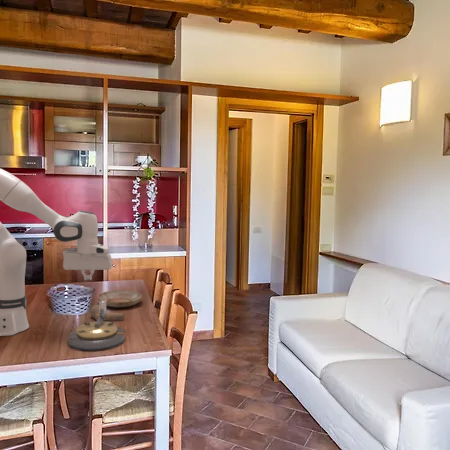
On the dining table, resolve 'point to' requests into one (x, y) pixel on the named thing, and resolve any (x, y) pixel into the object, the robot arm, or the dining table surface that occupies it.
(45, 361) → the dining table surface
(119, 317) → the pipe
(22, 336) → the dining table surface
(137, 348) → the dining table surface
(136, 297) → the ceramic bowl
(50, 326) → the dining table surface
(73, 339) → the disc
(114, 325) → the round gold-topped disc
